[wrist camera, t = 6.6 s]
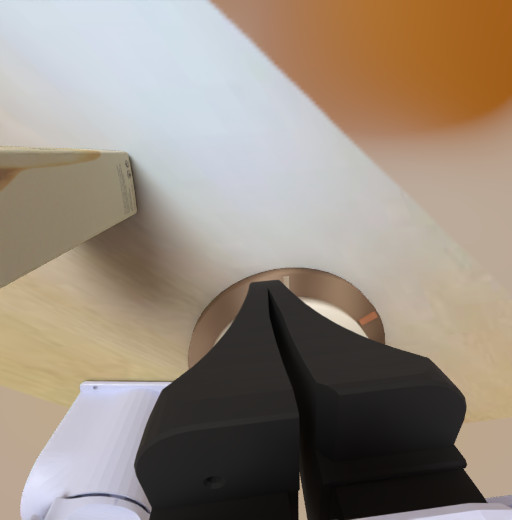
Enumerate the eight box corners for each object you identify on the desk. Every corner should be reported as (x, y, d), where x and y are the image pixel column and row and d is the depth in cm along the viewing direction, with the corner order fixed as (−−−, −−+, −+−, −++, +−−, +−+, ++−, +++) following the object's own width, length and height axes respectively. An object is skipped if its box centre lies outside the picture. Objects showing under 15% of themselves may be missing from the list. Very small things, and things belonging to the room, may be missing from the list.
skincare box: (129, 150, 17) (-95, 141, 5) (139, 214, 18) (-15, 308, 7) (28, 146, 16) (-459, 128, 5) (48, 212, 18) (-277, 312, 7)
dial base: (190, 415, 27) (188, 428, 26) (189, 260, 20) (186, 268, 19) (351, 414, 29) (356, 426, 28) (404, 274, 22) (415, 281, 21)
